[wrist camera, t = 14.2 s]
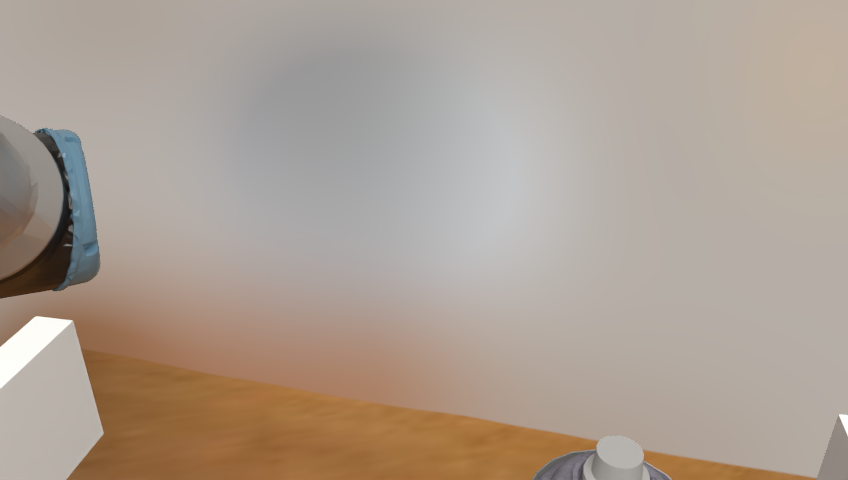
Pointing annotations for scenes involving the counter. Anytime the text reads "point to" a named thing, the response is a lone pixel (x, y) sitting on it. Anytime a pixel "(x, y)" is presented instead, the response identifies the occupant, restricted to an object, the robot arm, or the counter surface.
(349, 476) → the counter surface
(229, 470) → the counter surface
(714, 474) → the counter surface
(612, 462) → the aerosol can
